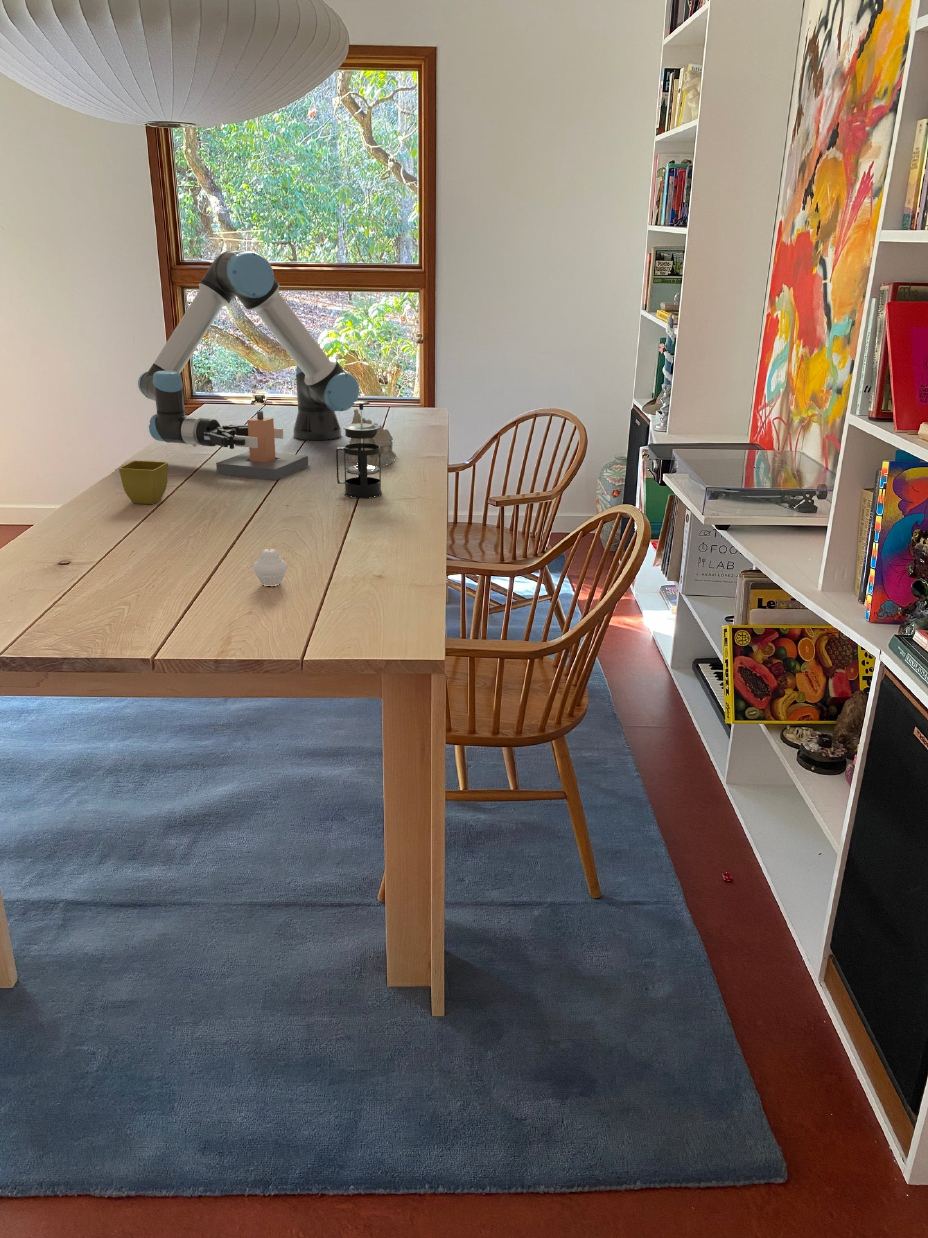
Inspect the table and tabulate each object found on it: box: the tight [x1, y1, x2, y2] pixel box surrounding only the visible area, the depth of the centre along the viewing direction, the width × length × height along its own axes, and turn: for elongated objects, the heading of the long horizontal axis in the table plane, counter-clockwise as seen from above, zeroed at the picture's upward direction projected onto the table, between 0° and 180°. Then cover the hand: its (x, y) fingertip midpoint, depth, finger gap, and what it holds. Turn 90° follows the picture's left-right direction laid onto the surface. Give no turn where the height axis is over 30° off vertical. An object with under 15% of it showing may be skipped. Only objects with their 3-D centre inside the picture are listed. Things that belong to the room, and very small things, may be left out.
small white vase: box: [252, 548, 288, 585], centre depth 173 cm, size 6×6×7 cm
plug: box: [247, 410, 276, 463], centre depth 256 cm, size 5×5×16 cm
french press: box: [335, 400, 383, 499], centre depth 233 cm, size 12×9×23 cm
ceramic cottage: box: [347, 408, 397, 467], centre depth 271 cm, size 16×16×15 cm
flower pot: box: [118, 460, 169, 505], centre depth 225 cm, size 9×9×9 cm
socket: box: [215, 451, 309, 481], centre depth 258 cm, size 18×18×3 cm
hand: (270, 438), depth 254 cm, fingers open, 13 cm apart
